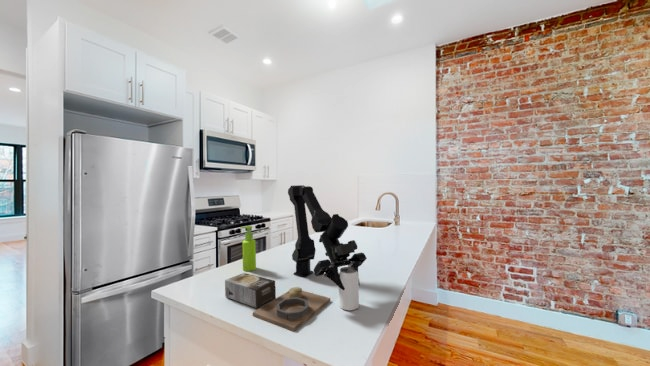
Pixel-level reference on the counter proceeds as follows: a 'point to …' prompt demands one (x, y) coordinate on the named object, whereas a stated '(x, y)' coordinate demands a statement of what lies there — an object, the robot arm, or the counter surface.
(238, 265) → the counter surface
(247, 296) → the coffee box
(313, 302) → the carrier board
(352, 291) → the can
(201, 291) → the counter surface
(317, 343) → the counter surface
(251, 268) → the soap dispenser
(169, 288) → the counter surface
